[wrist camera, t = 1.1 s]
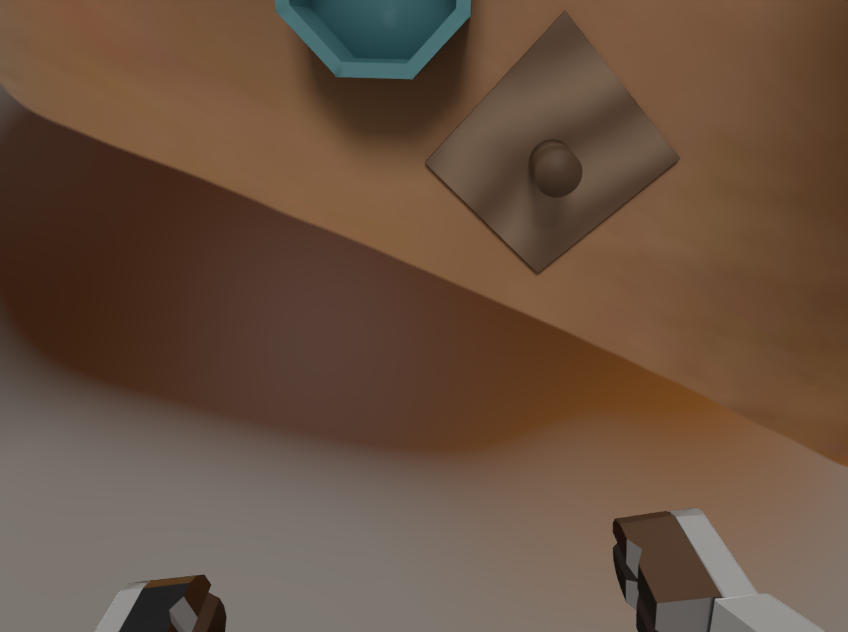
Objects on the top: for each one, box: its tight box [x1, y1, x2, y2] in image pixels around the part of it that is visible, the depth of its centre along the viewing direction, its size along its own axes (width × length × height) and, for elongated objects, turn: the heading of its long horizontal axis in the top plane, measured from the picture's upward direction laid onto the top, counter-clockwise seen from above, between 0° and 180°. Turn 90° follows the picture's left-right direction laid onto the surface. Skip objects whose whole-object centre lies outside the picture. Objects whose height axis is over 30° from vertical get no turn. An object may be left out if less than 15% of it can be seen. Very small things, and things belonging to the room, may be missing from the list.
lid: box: [425, 11, 680, 273], centre depth 33 cm, size 13×13×5 cm
